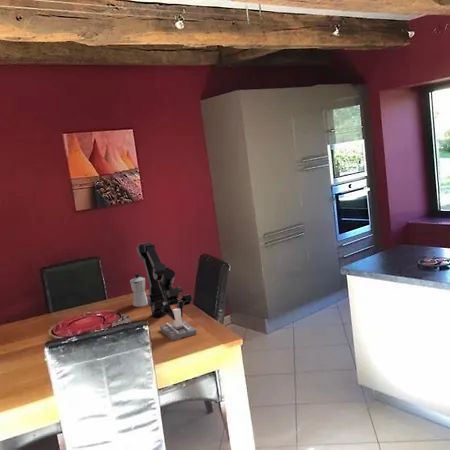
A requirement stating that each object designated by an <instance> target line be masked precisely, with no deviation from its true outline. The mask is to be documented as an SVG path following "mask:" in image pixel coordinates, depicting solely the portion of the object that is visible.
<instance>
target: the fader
mask: <svg viewBox="0 0 450 450" xmlns="http://www.w3.org/2000/svg"><path fill="white" fill-rule="evenodd" d="M171 310H172V312H173V314H174V317H175V320H173V319H172V320H173V321H172V323H174V326H173V328H175V329H176V330H177V329H181V328H184V327H183V325H182V319H183V317H182V318H181V310H180V309H179V308H177V307H176V308H171Z"/></svg>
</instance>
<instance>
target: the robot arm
mask: <svg viewBox="0 0 450 450" xmlns="http://www.w3.org/2000/svg"><path fill="white" fill-rule="evenodd" d="M135 248H136V249H135V250H136V253H137V254H138V257H139V258H140V259H141V260H142V261H143V263H144V268H145V273H146V276H147V280H148V283H149V290H148V297H147V302H148V304H147V306H149V307H150V310H151V314H150V315H149V317H151V318H157V319H160V318H162V317H164V316H166V315H168V316H169V317H170V318H171V319H172V320H175V317H174V314H173V312H172V308H171V306H174V305H177V306H176V308H179V309H180V310H181V318H182V319H183V308H184V306H187V305H191V303H192V301H193V295H192V294H190V293H188V294H183V295H182V297H181V298H179V296H180V294H182V293H183V289H182V286H181V285H178V286H176V287H175V288H174V287H173V283H174V280H175V276H176V272H175V271H174V270H173V269H171V268H169V267H167V265H166V263H165V264H164V263H163V262H162V261H161V259H160V256H159V255H158V253H157V250H156V246H155V244H154V243H151V242H150V241H149V242H145V243H138V244H137V246H136V247H135Z"/></svg>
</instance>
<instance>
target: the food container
mask: <svg viewBox="0 0 450 450" xmlns="http://www.w3.org/2000/svg"><path fill="white" fill-rule="evenodd" d="M128 322H130V323H132V318H131V317H130V315H128V314H121V317H119V318H118V319H116V321H115V322H112V323H111V328H112V327H113V326H116V325H119V324H123V323H128Z"/></svg>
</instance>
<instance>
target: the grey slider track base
mask: <svg viewBox="0 0 450 450" xmlns="http://www.w3.org/2000/svg"><path fill="white" fill-rule="evenodd" d="M182 325H183V327H184V328H181V329H177V330H176V329H175V328H173V326H174V322H172V323H169V322H166V324H163V325H160V326H159V328H160V329H159V330H160V331H161V332H162V333H163V334H164V335H165V336H166V337H168V338H169V340H171V341H175V340H180V339H183V338H186V337H190V336H194V335H197V329H196V328H195V327H193V326H192V325H190V324H189V323H188V322H187V321H185V320H182Z"/></svg>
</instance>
